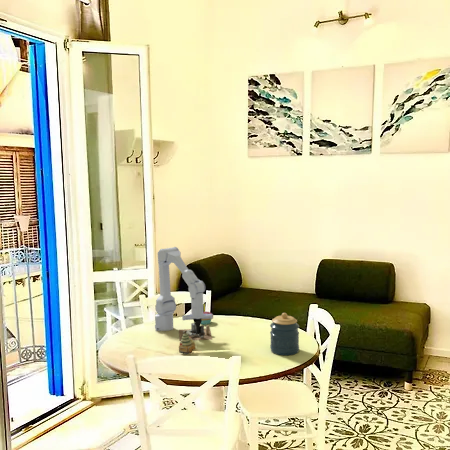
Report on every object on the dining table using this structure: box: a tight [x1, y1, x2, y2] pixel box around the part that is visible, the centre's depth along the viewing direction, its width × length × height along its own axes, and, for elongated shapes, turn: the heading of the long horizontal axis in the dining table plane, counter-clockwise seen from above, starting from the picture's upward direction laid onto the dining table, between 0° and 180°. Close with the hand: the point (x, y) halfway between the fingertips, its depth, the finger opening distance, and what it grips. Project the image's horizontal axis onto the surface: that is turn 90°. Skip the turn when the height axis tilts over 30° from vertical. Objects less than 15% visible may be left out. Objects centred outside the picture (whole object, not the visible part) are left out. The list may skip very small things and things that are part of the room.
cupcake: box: [200, 303, 214, 325], centre depth 261 cm, size 9×8×12 cm
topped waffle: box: [178, 331, 196, 355], centre depth 221 cm, size 8×6×10 cm
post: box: [190, 322, 196, 333], centre depth 242 cm, size 3×3×6 cm
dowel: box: [205, 324, 210, 335], centre depth 241 cm, size 2×2×4 cm
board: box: [178, 327, 213, 342], centre depth 242 cm, size 16×18×1 cm
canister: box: [269, 312, 300, 356], centre depth 219 cm, size 13×13×18 cm
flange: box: [183, 324, 205, 338], centre depth 240 cm, size 12×8×6 cm, turn 35°
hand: (197, 333), depth 235 cm, fingers closed
